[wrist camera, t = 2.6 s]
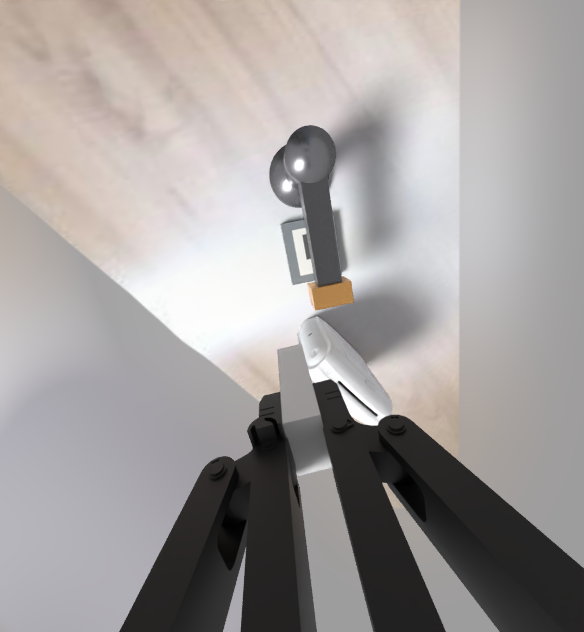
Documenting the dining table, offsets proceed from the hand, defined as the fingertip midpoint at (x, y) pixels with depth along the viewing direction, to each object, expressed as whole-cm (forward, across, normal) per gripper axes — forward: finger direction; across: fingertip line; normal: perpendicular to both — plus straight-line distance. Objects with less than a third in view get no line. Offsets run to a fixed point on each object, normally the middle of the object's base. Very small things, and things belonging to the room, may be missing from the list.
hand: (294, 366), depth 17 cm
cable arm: (+12, +5, +7) cm, 15 cm away
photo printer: (+19, +4, -8) cm, 21 cm away
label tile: (+19, +5, +4) cm, 20 cm away
